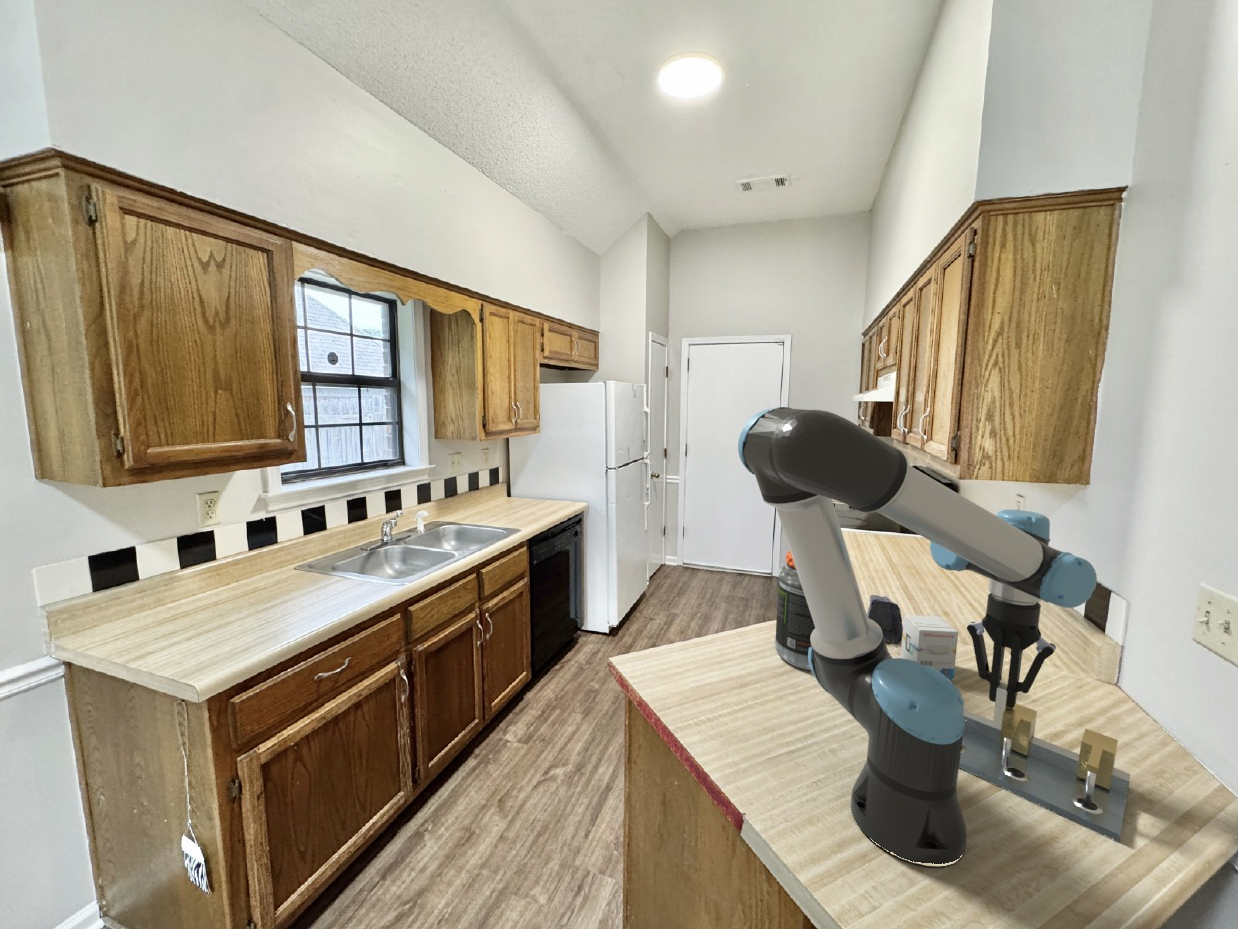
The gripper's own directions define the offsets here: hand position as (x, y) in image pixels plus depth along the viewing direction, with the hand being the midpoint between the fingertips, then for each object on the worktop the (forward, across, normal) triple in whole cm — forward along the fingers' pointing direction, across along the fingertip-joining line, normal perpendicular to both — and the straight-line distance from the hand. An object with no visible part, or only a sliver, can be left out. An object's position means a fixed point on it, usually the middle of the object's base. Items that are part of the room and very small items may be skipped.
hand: (999, 719), depth 96 cm
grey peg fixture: (+5, -4, +5) cm, 8 cm away
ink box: (+5, +18, -20) cm, 27 cm away
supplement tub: (+5, +40, -4) cm, 40 cm away
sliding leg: (+3, -3, +3) cm, 5 cm away
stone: (+5, +32, -30) cm, 44 cm away
